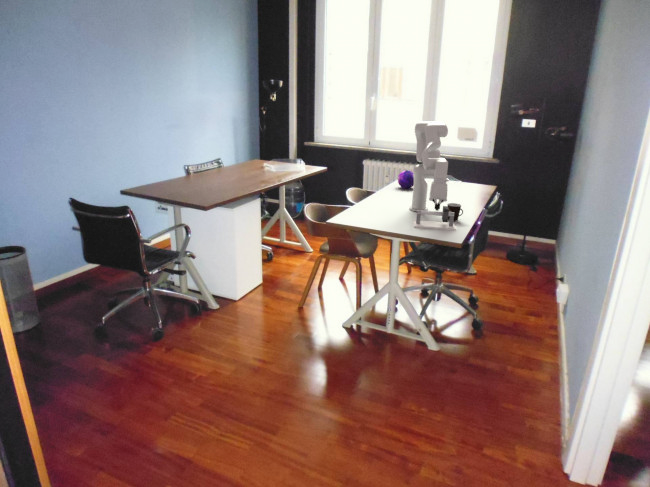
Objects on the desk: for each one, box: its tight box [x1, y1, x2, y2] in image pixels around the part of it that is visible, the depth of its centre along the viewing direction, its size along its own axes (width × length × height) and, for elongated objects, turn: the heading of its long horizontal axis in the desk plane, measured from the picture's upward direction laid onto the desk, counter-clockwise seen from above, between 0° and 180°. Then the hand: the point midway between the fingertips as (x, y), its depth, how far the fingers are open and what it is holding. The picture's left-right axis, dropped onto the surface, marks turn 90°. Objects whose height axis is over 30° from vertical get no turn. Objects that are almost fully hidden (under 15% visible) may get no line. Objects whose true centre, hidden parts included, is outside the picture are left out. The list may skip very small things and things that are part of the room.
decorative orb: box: [397, 169, 414, 190], centre depth 397 cm, size 15×15×15 cm
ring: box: [441, 205, 449, 222], centre depth 294 cm, size 8×3×8 cm, turn 170°
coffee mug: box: [447, 202, 464, 222], centre depth 308 cm, size 12×9×10 cm
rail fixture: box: [413, 210, 457, 231], centre depth 296 cm, size 13×25×9 cm, turn 80°
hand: (436, 210), depth 294 cm, fingers closed
